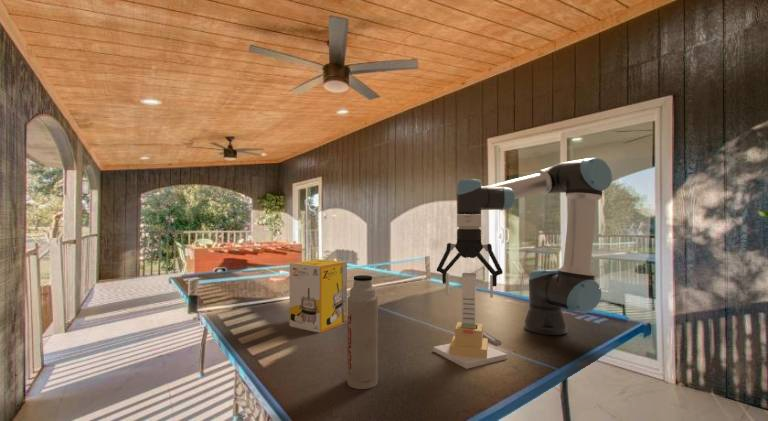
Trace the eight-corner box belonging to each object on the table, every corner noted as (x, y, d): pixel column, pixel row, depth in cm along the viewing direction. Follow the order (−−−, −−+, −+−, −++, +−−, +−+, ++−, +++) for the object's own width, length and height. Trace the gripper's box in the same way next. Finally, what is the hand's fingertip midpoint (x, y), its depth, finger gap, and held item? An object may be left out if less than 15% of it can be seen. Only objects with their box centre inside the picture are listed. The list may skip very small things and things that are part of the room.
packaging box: (346, 322, 156) (347, 261, 157) (320, 333, 143) (320, 266, 143) (317, 317, 165) (317, 259, 165) (289, 326, 151) (289, 263, 152)
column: (476, 328, 122) (476, 273, 122) (475, 332, 117) (475, 275, 118) (463, 327, 123) (462, 272, 123) (461, 331, 119) (461, 274, 119)
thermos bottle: (347, 389, 96) (347, 278, 96) (347, 376, 104) (347, 273, 104) (378, 388, 97) (378, 278, 97) (376, 375, 105) (376, 273, 105)
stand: (506, 346, 128) (506, 319, 128) (507, 373, 106) (507, 341, 106) (438, 340, 134) (438, 314, 134) (427, 364, 113) (427, 333, 113)
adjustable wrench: (502, 346, 130) (503, 340, 130) (485, 347, 129) (485, 342, 129) (473, 324, 155) (473, 320, 155) (458, 325, 153) (458, 321, 153)
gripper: (427, 228, 121) (427, 295, 120) (510, 229, 113) (511, 300, 113) (431, 227, 128) (431, 290, 128) (510, 228, 121) (510, 295, 120)
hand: (469, 295), depth 120 cm, fingers open, 13 cm apart
